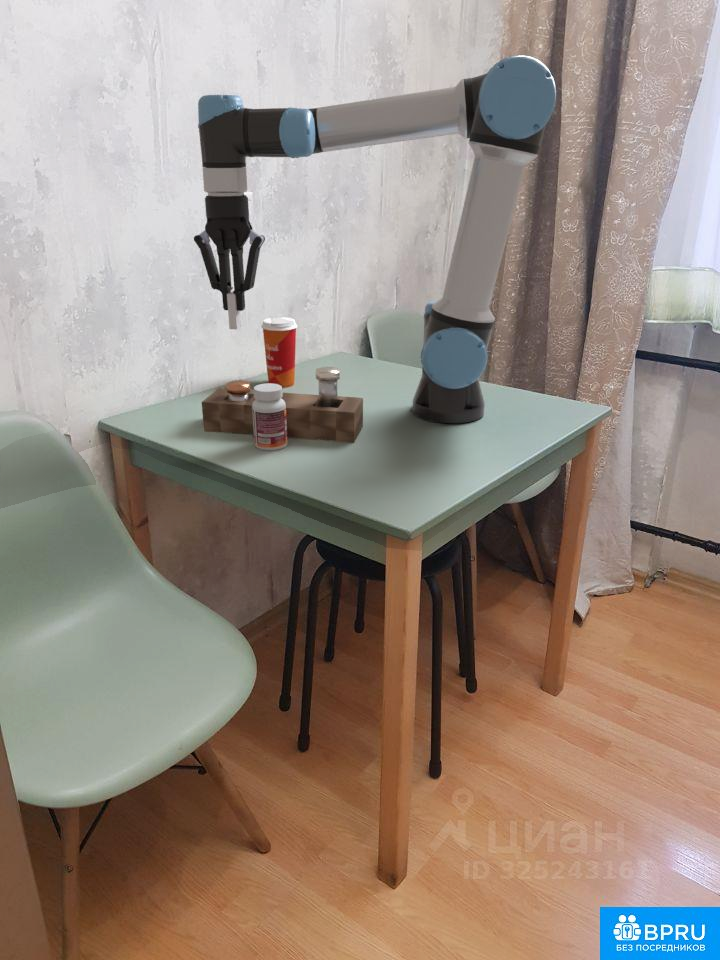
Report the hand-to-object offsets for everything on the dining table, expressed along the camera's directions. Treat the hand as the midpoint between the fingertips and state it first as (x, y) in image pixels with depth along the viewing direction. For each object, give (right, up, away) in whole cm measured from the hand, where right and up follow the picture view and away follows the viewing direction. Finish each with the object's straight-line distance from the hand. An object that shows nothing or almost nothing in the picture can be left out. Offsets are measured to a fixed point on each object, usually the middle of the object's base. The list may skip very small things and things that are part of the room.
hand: (235, 327), depth 139 cm
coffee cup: (+5, -6, +34) cm, 35 cm away
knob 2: (+17, -14, +3) cm, 23 cm away
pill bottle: (+7, -23, -1) cm, 24 cm away
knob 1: (0, -16, +7) cm, 18 cm away
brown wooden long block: (+8, -19, +7) cm, 22 cm away
